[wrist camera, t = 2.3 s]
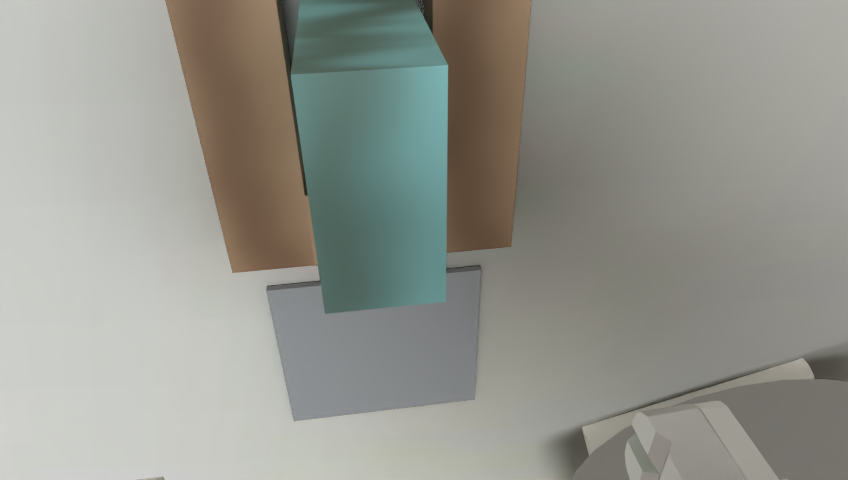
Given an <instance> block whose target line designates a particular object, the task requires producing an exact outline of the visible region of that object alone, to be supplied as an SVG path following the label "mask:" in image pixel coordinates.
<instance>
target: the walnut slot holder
mask: <svg viewBox="0 0 848 480" xmlns="http://www.w3.org/2000/svg"><path fill="white" fill-rule="evenodd" d="M165 1H166V5H167V9H168V13H169V17H170V21H171V25H172V29H173V33H174V37H175V41H176V45H177V49H178V53H179V57H180V61H181V65H182V70H183V74H184V78H185V82H186V86H187V90H188V94H189V98H190V102H191V106H192V110H193V114H194V118H195V122H196V126H197V130H198V134H199V138H200V143H201V147H202V151H203V155H204V159H205V163H206V167H207V171H208V175H209V179H210V183H211V187H212V191H213V195H214V199H215V203H216V207H217V212H218V216H219V220H220V224H221V228H222V232H223V236H224V240H225V244H226V248H227V252H228V256H229V260H230V264H231V268H232V272H233V273H236V272H247V271H257V270H268V269H279V268H289V267H300V266H311V265H318V262H317V255H316V248H315V241H314V234H313V227H312V220H311V213H310V206H309V199H308V192H307V185H306V178H305V171H304V164H303V157H302V150H301V143H300V137H299V130H298V123H297V116H296V109H295V102H294V95H293V88H292V81H291V62H290V55H289V48H288V41H287V34H286V27H285V20H284V13H283V6H282V0H165ZM530 12H531V0H424V19H425V21H426V22H427V24H428V26H429V28H430V30H431V32H432V34H433V36H434V38H435V40H436V42H437V44H438V46H439V48H440V50H441V52H442V54H443V56H444V58H445V60H446V62H447V64H448V130H447V250H446V253H449V252H460V251H471V250H481V249H492V248H503V247H511V241H512V229H513V217H514V205H515V193H516V181H517V169H518V156H519V144H520V132H521V120H522V108H523V96H524V84H525V72H526V60H527V48H528V36H529V24H530Z"/></svg>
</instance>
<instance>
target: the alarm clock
mask: <svg viewBox="0 0 848 480" xmlns="http://www.w3.org/2000/svg"><path fill="white" fill-rule="evenodd" d="M710 401H721V402H723V403H724V404H725V405H727V407H728V408H729V409H730V411H731V412H732V414H733V415H734V416H735V418H736V419H737V421H738V422H739V424H740V425H741V426H742V428H743V429H744V431H745V432H746V433H747V435H748V436H749V438H750V439H751V440H752V442H753V443H754V445H755V446H756V447H757V449H758V450H759V452H760V453H761V454H762V456H763V457H764V459H765V460H766V462H767V463H768V464H769V466H770V467H771V469H772V470H773V471H774V473H775V474H776V476H777V477H778V478H779V480H782V479H788V480H848V381H840V380H831V379H814V375H813V373H812V370H811V368H810V366H809V364H808V363H807V362H806V361H805V360H804V359H803V358H801V359H798V360H795V361H792V362H789V363H785V364H782V365H779V366H776V367H773V368H769V369H766V370H763V371H760V372H756V373H753V374H750V375H747V376H744V377H740V378H737V379H734V380H731V381H728V382H724V383H721V384H718V385H715V386H712V387H708V388H705V389H702V390H699V391H696V392H692V393H689V394H686V395H683V396H680V397H676V398H673V399H670V400H667V401H663V402H660V403H657V404H654V405H651V406H647V407H644V408H641V409H638V410H635V411H631V412H628V413H625V414H622V415H619V416H615V417H612V418H609V419H606V420H603V421H599V422H596V423H593V424H590V425H586V426H583V427H582V430H583V434H584V438H585V442H586V446H587V450H588V454H589V457H588V458H587V459H586V460H585V461H584V462H583V463H582V465H581V466H580V467H579V468H578V469H577V470H576V471H575V473H574V475H573V477H572V479H571V480H630V479H629V475H628V472H627V469H626V462H625V448H626V444H627V440H628V439H629V438H631V437H632V436H633V435H634V434H635V433H636V432H635V430H634V428H633V426H632V422H633V419H634V416H635V415H636V414H637V413H638V412H639V411H645V410H651V409H658V408H664V407H671V406H677V405H684V404H697V403H703V402H710Z"/></svg>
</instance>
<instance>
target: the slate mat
mask: <svg viewBox="0 0 848 480" xmlns="http://www.w3.org/2000/svg"><path fill="white" fill-rule="evenodd" d="M480 280H481V269H480V266H472V267H462V268H451V269H446V302H438V303H429V304H419V305H409V306H399V307H389V308H379V309H369V310H360V311H350V312H340V313H330V314H325V311H324V304H323V297H322V290H321V283H320V281H317V282H306V283H296V284H286V285H275V286H267V290H266V291H267V296H268V301H269V305H270V310H271V315H272V320H273V324H274V329H275V334H276V339H277V343H278V348H279V353H280V358H281V362H282V367H283V372H284V377H285V381H286V386H287V391H288V396H289V400H290V405H291V410H292V415H293V419H294V421H299V420H307V419H316V418H324V417H332V416H341V415H349V414H357V413H366V412H374V411H382V410H391V409H399V408H407V407H416V406H424V405H432V404H441V403H449V402H457V401H466V400H474V399H475V381H476V361H477V341H478V320H479V300H480Z"/></svg>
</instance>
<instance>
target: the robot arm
mask: <svg viewBox="0 0 848 480" xmlns="http://www.w3.org/2000/svg"><path fill="white" fill-rule="evenodd" d="M632 426H633V428H634V430H635V432H636V433H635V434H634V435H633V436H632V437H631V438H629V439H628V440H627V444H626V448H625V462H626V469H627V472H628V475H629V479H630V480H779V478H778V477H777V476H776V474H775V473H774V471H773V470H772V469H771V467H770V466H769V464H768V463H767V462H766V460H765V459H764V457H763V456H762V454H761V453H760V452H759V450H758V449H757V447H756V446H755V445H754V443H753V442H752V440H751V439H750V438H749V436H748V435H747V433H746V432H745V431H744V429H743V428H742V426H741V425H740V424H739V422H738V421H737V419H736V418H735V416H734V415H733V414H732V412H731V411H730V409H729V408H728V407H727V405H725V404H724V403H723V402H721V401H710V402H703V403H697V404H684V405H677V406H671V407H664V408H658V409H651V410H645V411H639V412H638V413H637V414H636V415H635V416H634V419H633V422H632ZM139 480H165V479H164V477H155V478H147V479H139ZM782 480H788V479H782Z"/></svg>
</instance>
